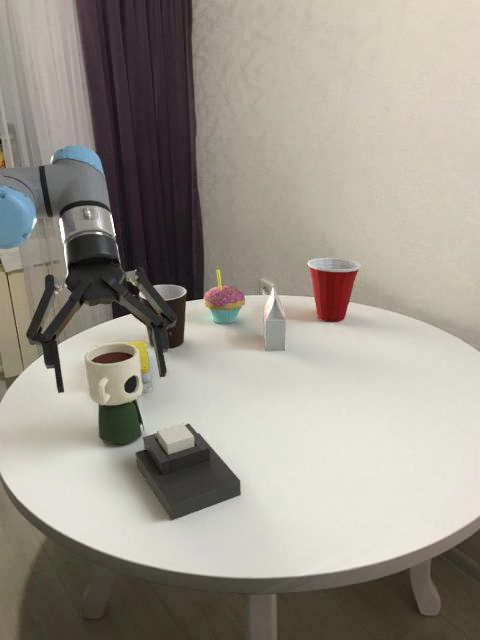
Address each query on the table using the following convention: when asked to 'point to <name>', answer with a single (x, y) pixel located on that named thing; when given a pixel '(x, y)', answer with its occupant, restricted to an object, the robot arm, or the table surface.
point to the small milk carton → (274, 323)
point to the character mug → (116, 390)
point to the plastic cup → (332, 286)
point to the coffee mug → (177, 303)
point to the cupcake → (224, 302)
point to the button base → (186, 476)
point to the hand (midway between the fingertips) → (113, 382)
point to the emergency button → (144, 365)
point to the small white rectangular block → (175, 438)
